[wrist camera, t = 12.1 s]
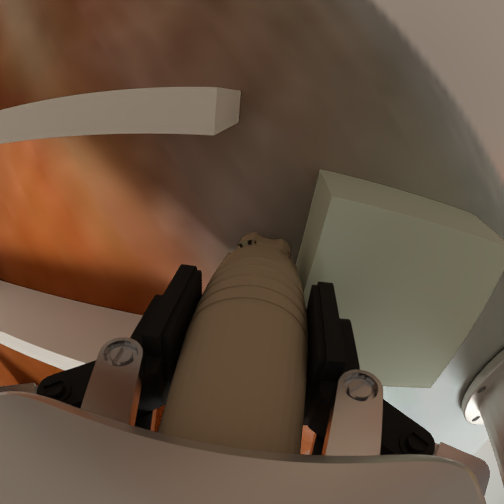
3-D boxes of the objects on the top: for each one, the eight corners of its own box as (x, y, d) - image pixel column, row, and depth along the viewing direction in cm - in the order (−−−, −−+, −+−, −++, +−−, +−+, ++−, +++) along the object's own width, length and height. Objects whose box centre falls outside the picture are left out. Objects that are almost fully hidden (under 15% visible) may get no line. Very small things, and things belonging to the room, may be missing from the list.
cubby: (240, 90, 13) (217, 87, 8) (226, 346, 20) (211, 408, 15) (-39, 123, 14) (-88, 140, 10) (-5, 291, 21) (-38, 323, 17)
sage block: (470, 211, 14) (513, 248, 10) (411, 336, 18) (430, 387, 14) (319, 167, 14) (331, 196, 10) (280, 316, 19) (276, 373, 15)
